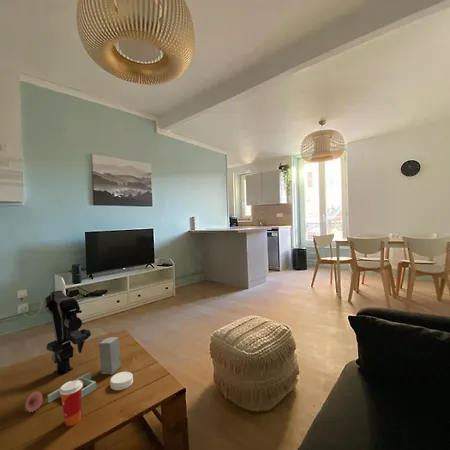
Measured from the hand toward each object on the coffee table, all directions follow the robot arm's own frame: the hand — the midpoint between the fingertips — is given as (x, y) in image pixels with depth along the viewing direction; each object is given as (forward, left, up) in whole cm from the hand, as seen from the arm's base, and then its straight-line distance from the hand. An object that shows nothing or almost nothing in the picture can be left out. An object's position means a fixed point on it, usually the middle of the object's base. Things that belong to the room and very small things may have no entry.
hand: (70, 357), depth 132 cm
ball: (+10, -4, -12) cm, 16 cm away
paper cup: (+26, -16, -12) cm, 33 cm away
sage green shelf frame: (+10, -4, -12) cm, 16 cm away
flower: (+5, -19, -12) cm, 23 cm away
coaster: (+24, +9, -12) cm, 29 cm away
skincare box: (+9, +15, -12) cm, 21 cm away
